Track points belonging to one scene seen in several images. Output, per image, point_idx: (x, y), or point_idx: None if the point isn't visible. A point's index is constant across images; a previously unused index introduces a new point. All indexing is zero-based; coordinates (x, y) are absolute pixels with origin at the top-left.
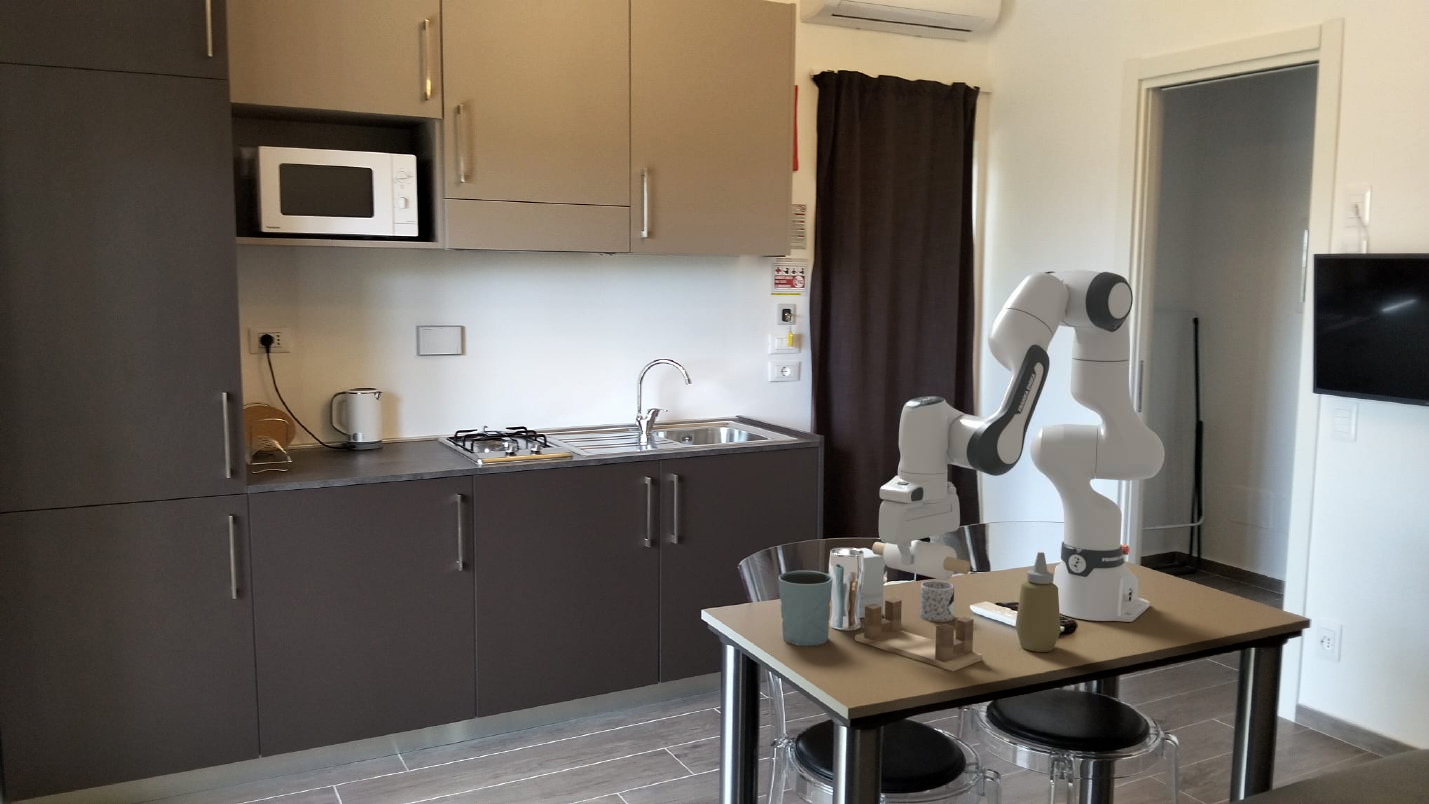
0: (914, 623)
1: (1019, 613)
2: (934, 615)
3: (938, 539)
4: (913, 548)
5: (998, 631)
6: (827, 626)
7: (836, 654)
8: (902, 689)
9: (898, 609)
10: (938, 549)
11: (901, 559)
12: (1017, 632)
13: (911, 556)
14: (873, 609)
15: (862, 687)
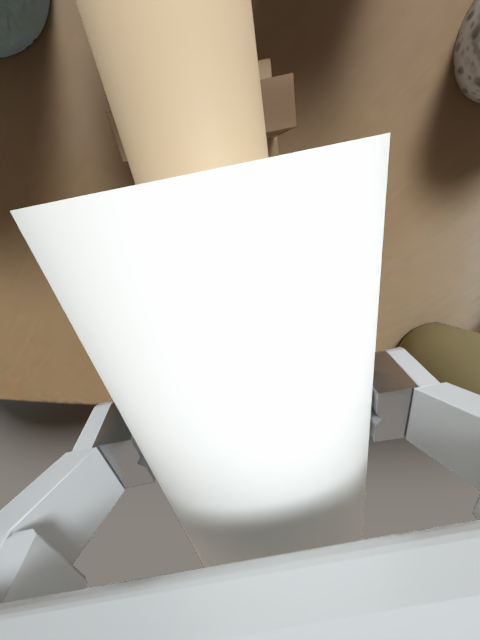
0: (397, 55)
1: (442, 376)
2: (470, 73)
3: (473, 512)
4: (168, 498)
5: (475, 244)
6: (2, 22)
7: (23, 169)
8: (76, 381)
9: (271, 133)
10: None
11: (89, 420)
12: (418, 344)
13: (127, 481)
14: (125, 161)
15: (8, 350)
